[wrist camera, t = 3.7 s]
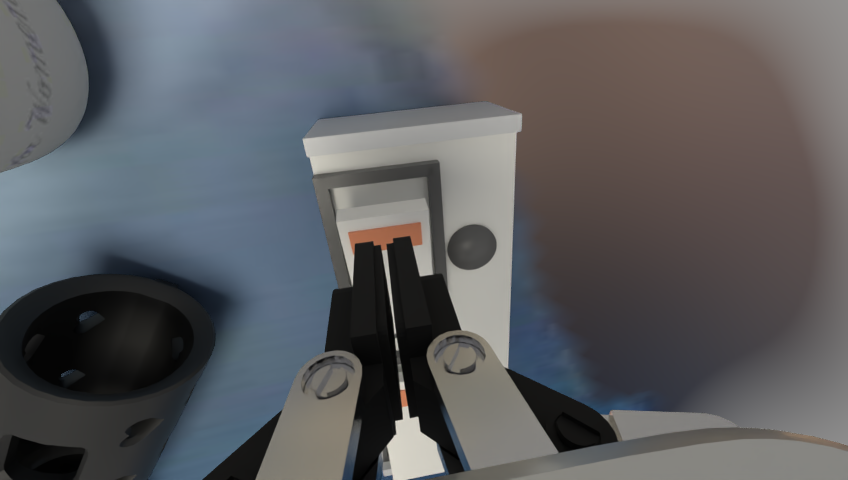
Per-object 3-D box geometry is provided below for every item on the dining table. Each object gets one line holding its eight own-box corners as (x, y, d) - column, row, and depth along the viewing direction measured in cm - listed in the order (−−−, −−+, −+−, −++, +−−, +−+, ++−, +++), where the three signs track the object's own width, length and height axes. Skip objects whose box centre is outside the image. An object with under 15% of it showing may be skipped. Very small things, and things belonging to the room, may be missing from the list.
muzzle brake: (245, 298, 25) (177, 433, 16) (136, 510, 34) (53, 674, 25) (90, 241, 22) (-106, 372, 13) (14, 493, 31) (-134, 675, 22)
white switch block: (487, 393, 33) (507, 451, 29) (381, 413, 33) (384, 476, 28) (486, 100, 21) (522, 114, 16) (318, 119, 20) (302, 139, 16)
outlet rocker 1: (430, 304, 22) (436, 328, 20) (365, 315, 21) (366, 339, 20) (422, 190, 17) (429, 210, 15) (337, 201, 16) (336, 223, 15)
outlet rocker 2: (446, 449, 26) (451, 472, 24) (392, 460, 26) (393, 483, 24) (435, 358, 24) (440, 376, 22) (376, 369, 23) (376, 387, 22)
